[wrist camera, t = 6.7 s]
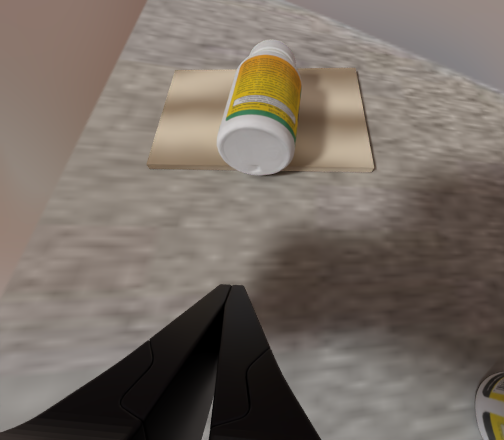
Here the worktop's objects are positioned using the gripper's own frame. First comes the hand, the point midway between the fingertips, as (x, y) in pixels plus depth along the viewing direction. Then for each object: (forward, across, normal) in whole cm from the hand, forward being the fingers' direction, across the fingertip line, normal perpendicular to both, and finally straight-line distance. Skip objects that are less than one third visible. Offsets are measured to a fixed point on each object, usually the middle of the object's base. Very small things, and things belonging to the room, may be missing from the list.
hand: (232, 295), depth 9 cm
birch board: (+17, 0, -7) cm, 18 cm away
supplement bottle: (+10, 0, -4) cm, 10 cm away
